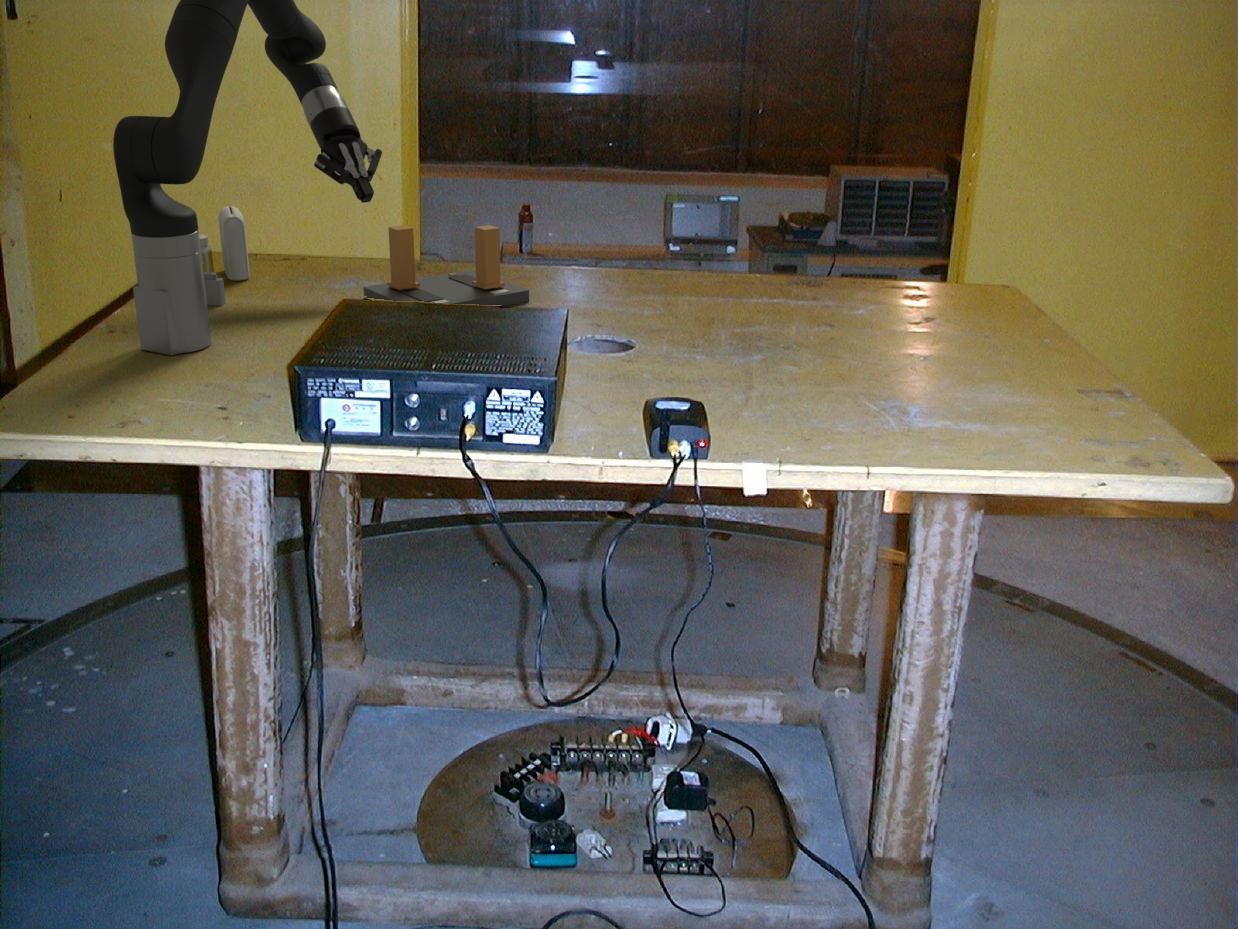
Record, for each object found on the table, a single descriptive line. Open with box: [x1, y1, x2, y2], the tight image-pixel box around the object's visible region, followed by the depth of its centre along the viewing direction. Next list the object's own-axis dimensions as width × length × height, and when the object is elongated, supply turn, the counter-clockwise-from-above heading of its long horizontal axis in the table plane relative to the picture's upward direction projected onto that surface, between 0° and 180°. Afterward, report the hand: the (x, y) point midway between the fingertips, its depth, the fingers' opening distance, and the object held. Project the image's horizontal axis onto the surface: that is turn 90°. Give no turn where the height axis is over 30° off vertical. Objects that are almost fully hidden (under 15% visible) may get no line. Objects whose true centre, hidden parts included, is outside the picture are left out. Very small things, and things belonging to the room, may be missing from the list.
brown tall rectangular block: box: [472, 224, 505, 289], centre depth 208 cm, size 4×4×10 cm
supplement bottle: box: [199, 233, 215, 273], centre depth 216 cm, size 5×5×8 cm
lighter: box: [203, 272, 226, 307], centre depth 203 cm, size 7×2×8 cm, turn 83°
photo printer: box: [218, 205, 251, 281], centre depth 221 cm, size 10×4×12 cm, turn 21°
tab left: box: [387, 224, 420, 290], centre depth 206 cm, size 4×4×10 cm
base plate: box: [362, 269, 530, 306], centre depth 209 cm, size 22×18×2 cm
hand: (367, 199), depth 211 cm, fingers closed
